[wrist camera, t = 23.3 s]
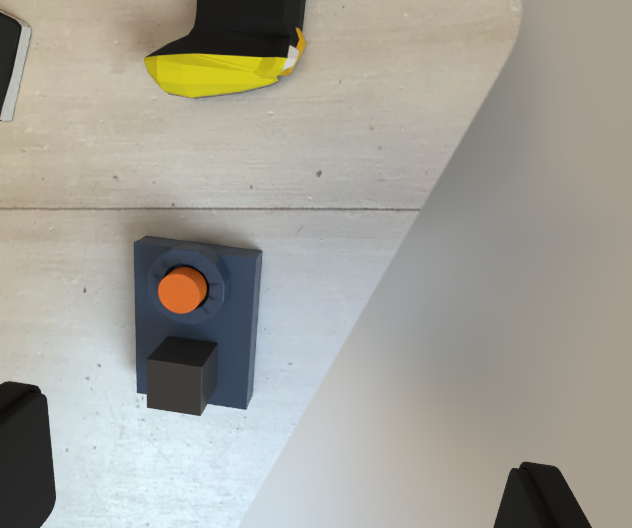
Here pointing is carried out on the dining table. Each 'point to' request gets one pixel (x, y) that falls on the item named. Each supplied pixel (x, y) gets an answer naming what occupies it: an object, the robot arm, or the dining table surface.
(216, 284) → the button base
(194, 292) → the power button
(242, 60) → the gaming controller
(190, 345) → the block
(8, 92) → the smartphone
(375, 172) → the dining table surface
